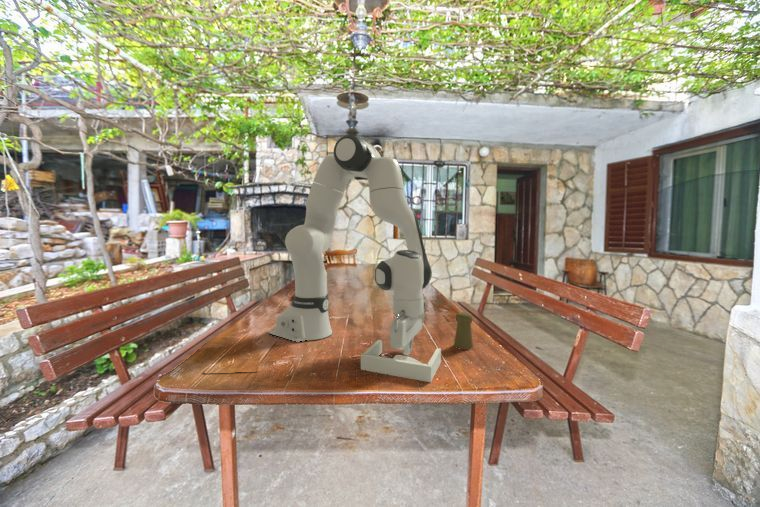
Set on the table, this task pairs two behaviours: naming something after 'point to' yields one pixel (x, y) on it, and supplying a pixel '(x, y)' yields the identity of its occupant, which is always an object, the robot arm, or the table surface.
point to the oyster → (405, 358)
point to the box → (399, 364)
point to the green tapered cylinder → (463, 331)
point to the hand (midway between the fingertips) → (407, 353)
